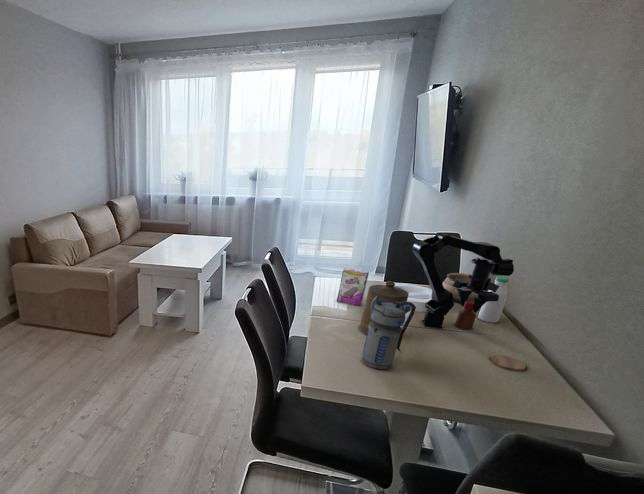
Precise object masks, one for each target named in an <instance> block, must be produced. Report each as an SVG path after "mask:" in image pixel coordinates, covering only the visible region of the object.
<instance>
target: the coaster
mask: <svg viewBox="0 0 644 494" xmlns="http://www.w3.org/2000/svg"><path fill="white" fill-rule="evenodd" d="M490 360H491V362H492V363H493V364H494V365H496V366H497V367H500V368H502V369H505V370H509V371H513V372H523V371H525V370H526V368H527V365H526V364H525V362H523V361H521V360H519V359H517V358H514V357H511V356H507V355H500V354H499V355H498V354H497V355H493V356H491V359H490Z"/></svg>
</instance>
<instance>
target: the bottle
mask: <svg viewBox="0 0 644 494" xmlns="http://www.w3.org/2000/svg"><path fill="white" fill-rule="evenodd" d="M476 318H477V314H476V313H474V312H473V311H468V310H465V309H464V308H463V309H461V310H459V311H458V314H457V316H456V319H455V322H454V326H455V327H456V328H458V329H461V330H466V331H467V330H468V331H469V330H470V331H471V330H472V329H473V326H474V324H475V321H476Z"/></svg>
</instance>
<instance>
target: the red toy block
mask: <svg viewBox="0 0 644 494" xmlns="http://www.w3.org/2000/svg"><path fill="white" fill-rule="evenodd" d="M473 308H474V302H473V301H465V304H464V307H463V310H464V309H465V310H468V311H473Z"/></svg>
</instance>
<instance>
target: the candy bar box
mask: <svg viewBox="0 0 644 494" xmlns="http://www.w3.org/2000/svg"><path fill="white" fill-rule="evenodd" d="M369 274H370V272H369V271H367V270H361V269H356V268H355V269H354V268H349V267H344V268H343V270H342V273H341V278H340V282H339V288H338V293H337V298H336V302H337V303H343V304H347V305H352V306H356V307H361V305H362V304H363V300H364V295H365V292H366V287H367V283H368V279H369Z"/></svg>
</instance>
